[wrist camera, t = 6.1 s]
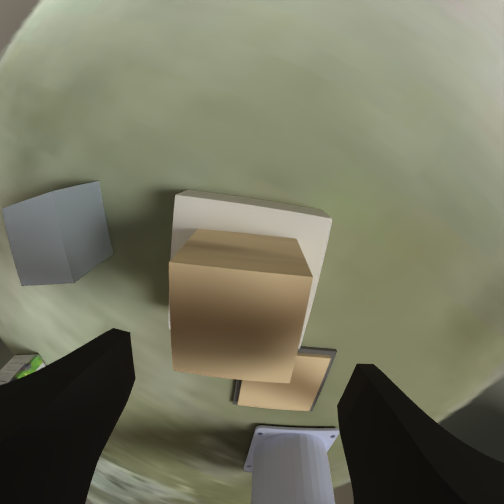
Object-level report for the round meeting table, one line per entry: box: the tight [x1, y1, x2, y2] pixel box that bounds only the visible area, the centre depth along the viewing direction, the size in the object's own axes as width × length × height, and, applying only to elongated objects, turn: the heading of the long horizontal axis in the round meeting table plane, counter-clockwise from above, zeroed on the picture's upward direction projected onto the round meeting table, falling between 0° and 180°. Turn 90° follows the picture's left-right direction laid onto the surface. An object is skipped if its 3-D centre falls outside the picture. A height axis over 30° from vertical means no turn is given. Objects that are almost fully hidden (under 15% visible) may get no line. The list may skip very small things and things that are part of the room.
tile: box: [233, 346, 337, 411], centre depth 20 cm, size 7×7×1 cm
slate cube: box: [2, 181, 114, 286], centre depth 15 cm, size 5×5×5 cm
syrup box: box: [0, 354, 45, 385], centre depth 16 cm, size 6×6×14 cm
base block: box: [169, 190, 332, 349], centre depth 17 cm, size 8×8×3 cm
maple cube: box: [169, 229, 313, 383], centre depth 13 cm, size 5×5×5 cm
